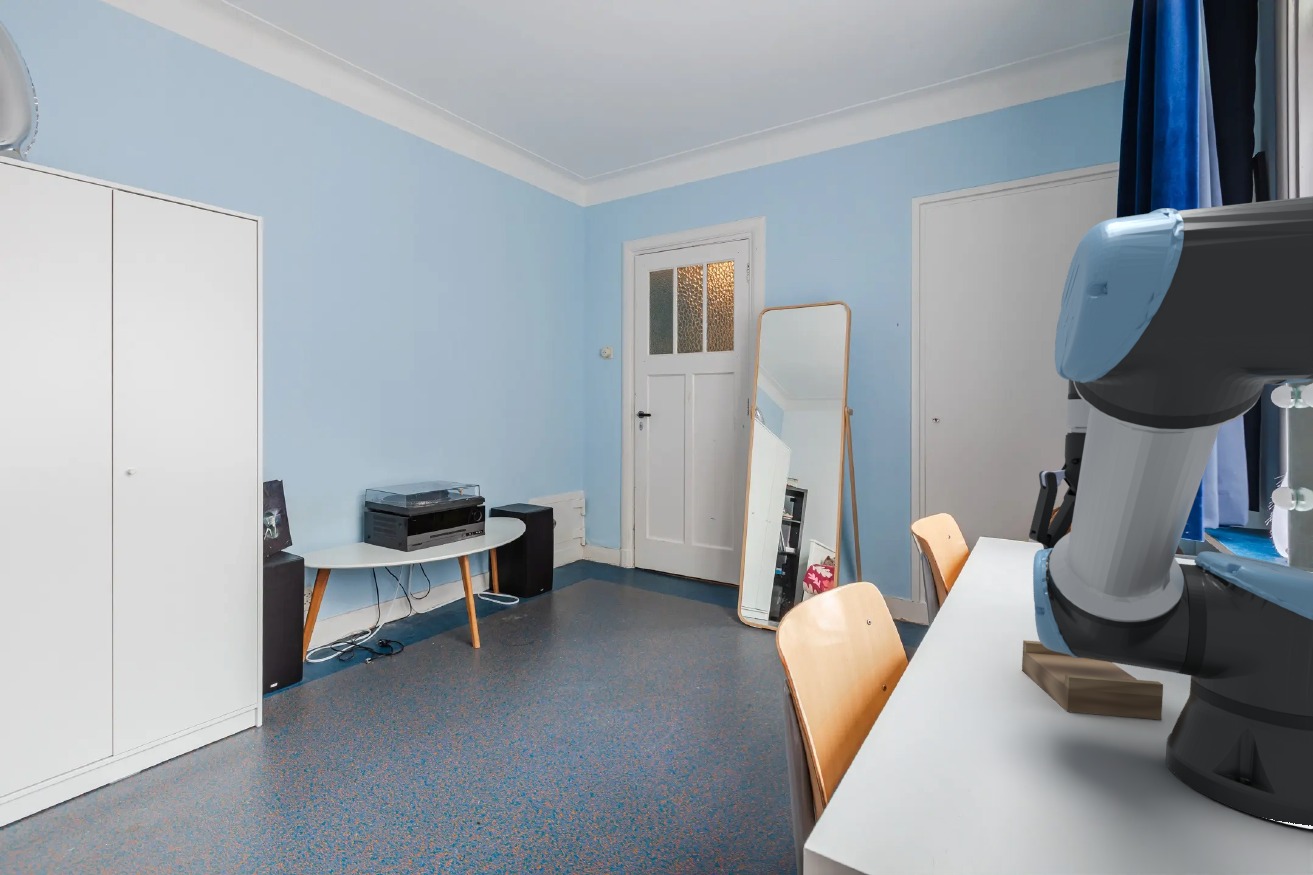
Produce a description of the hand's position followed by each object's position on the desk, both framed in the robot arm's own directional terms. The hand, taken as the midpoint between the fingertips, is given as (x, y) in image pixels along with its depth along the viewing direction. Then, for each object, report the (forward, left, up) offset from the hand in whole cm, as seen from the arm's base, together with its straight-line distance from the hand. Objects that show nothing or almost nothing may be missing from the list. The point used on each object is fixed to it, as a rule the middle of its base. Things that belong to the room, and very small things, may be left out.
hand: (1090, 595), depth 88 cm
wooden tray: (0, 0, -13) cm, 13 cm away
